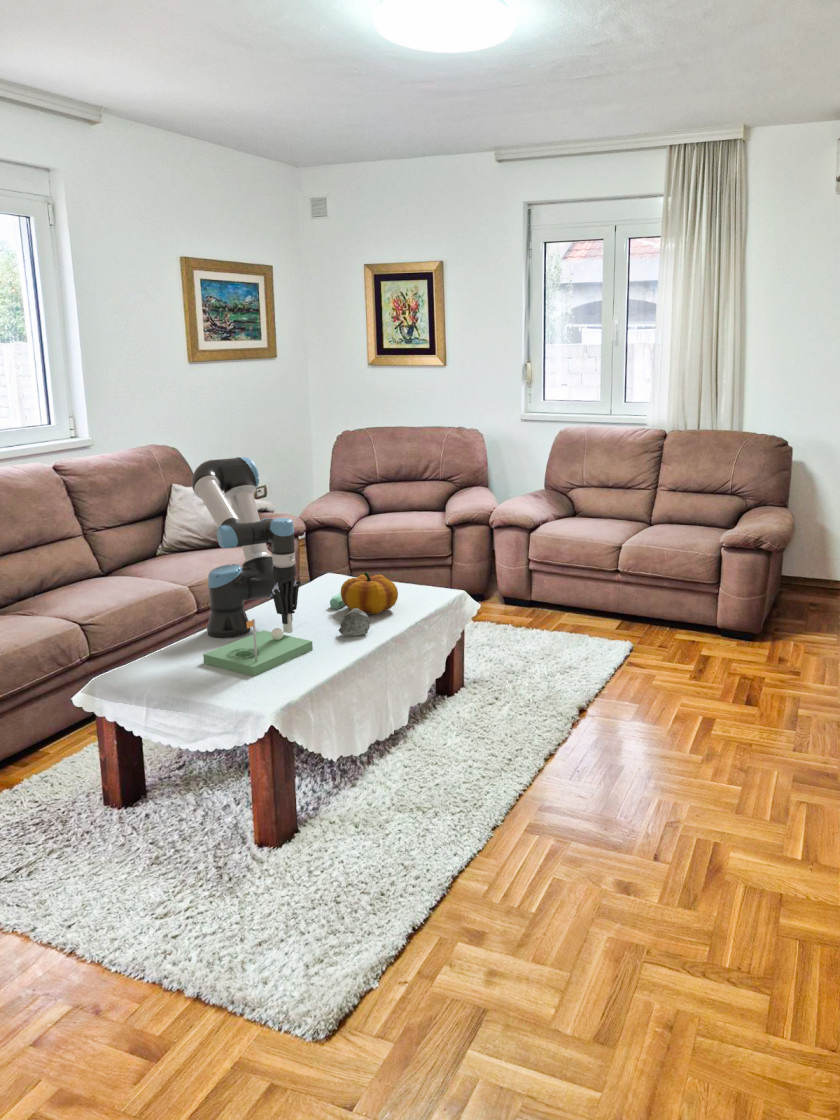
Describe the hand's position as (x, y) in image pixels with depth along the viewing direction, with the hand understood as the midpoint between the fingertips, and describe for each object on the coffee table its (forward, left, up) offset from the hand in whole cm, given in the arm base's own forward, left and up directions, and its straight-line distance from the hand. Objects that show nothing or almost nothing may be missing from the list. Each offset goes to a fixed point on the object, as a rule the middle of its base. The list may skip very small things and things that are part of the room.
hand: (287, 631), depth 311 cm
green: (0, -15, -4) cm, 16 cm away
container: (-14, +51, -5) cm, 53 cm away
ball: (0, -5, +1) cm, 5 cm away
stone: (+13, +21, -5) cm, 25 cm away
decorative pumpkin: (+1, +45, -5) cm, 45 cm away
